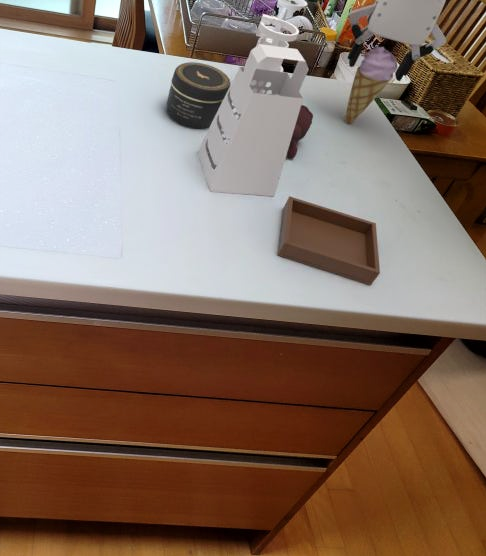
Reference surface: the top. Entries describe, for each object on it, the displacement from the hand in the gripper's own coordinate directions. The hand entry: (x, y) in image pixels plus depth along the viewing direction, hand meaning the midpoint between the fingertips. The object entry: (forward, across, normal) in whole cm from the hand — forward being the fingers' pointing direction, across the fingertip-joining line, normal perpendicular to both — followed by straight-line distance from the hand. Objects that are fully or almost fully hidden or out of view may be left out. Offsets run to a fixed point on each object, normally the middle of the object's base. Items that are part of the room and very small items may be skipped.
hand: (374, 70), depth 100 cm
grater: (+11, +19, +30) cm, 37 cm away
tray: (+10, +4, +41) cm, 42 cm away
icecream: (+11, +12, +14) cm, 21 cm away
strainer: (+11, +19, +2) cm, 22 cm away
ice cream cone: (+11, 0, 0) cm, 11 cm away
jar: (+11, +29, +16) cm, 35 cm away
